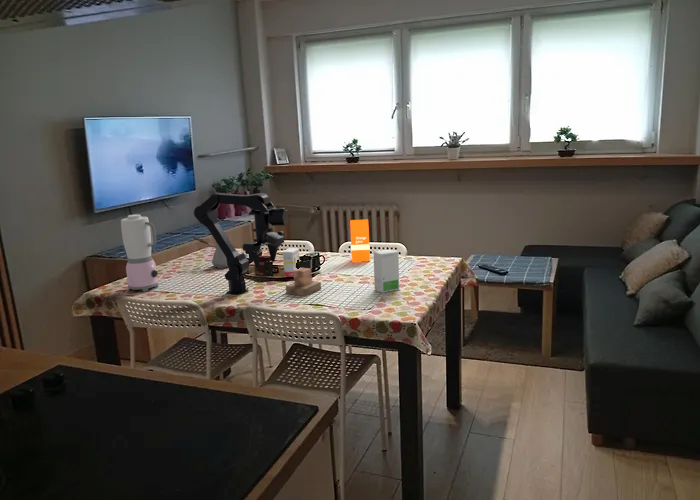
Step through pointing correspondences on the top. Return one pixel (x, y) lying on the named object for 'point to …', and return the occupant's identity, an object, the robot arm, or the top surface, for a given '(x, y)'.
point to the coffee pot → (216, 255)
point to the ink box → (290, 261)
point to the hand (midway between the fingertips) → (265, 264)
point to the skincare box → (386, 270)
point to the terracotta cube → (302, 276)
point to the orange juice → (360, 240)
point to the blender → (139, 252)
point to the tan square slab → (303, 288)
